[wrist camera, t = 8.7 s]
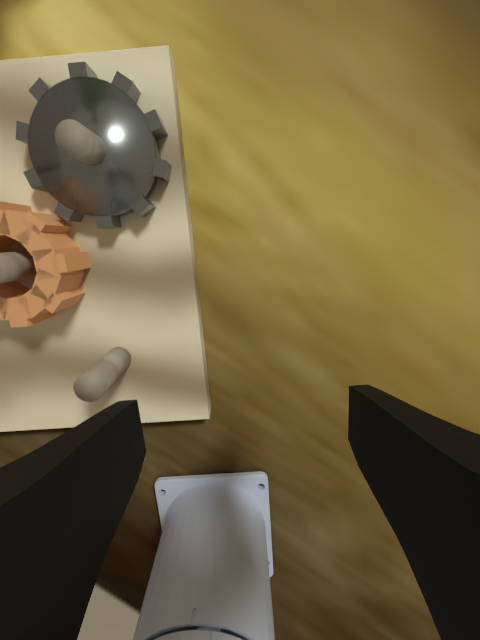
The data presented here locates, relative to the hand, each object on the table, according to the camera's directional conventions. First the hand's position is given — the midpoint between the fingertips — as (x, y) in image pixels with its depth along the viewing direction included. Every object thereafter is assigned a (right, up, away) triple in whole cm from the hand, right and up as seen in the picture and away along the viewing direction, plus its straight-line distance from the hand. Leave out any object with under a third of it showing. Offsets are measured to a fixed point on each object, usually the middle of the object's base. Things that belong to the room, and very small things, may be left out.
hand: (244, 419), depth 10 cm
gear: (-7, +12, +5) cm, 15 cm away
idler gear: (-12, +6, +7) cm, 15 cm away
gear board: (-12, +6, +8) cm, 16 cm away
